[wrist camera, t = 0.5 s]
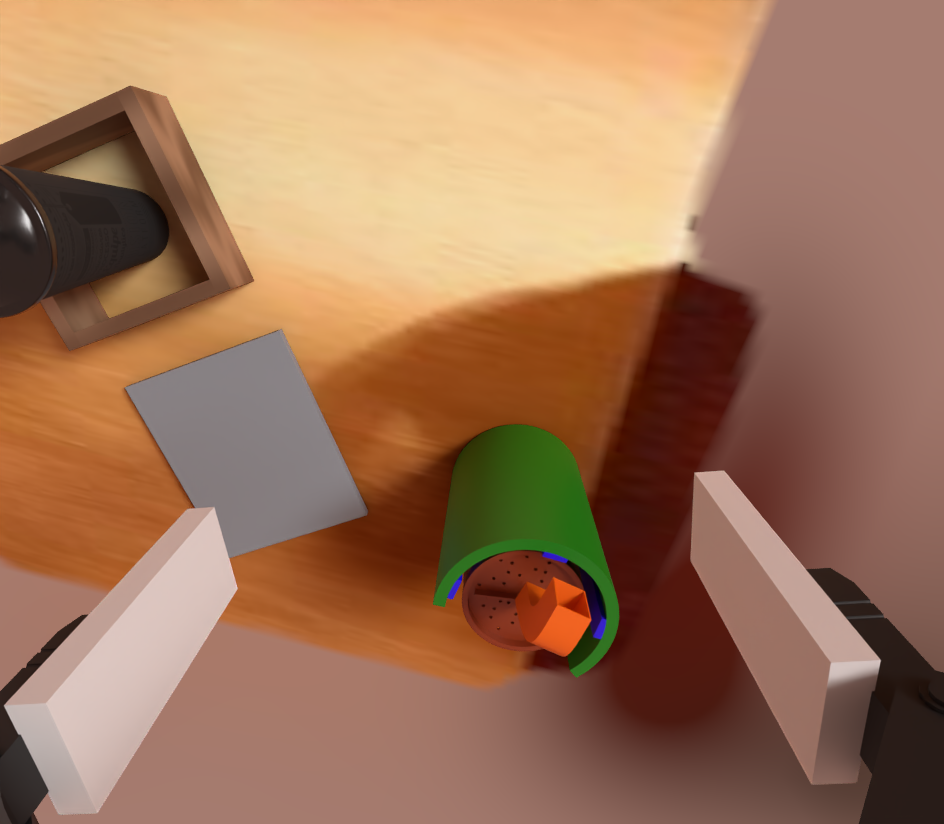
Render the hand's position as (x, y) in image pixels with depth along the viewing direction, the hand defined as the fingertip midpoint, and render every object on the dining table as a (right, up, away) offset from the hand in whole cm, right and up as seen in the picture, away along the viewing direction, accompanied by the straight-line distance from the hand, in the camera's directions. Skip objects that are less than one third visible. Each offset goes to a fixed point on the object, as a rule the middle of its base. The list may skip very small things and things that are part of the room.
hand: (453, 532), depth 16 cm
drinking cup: (-23, +16, +25) cm, 37 cm away
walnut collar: (-23, +16, +25) cm, 37 cm away
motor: (+4, -2, +30) cm, 31 cm away
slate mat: (-17, 0, +30) cm, 35 cm away
